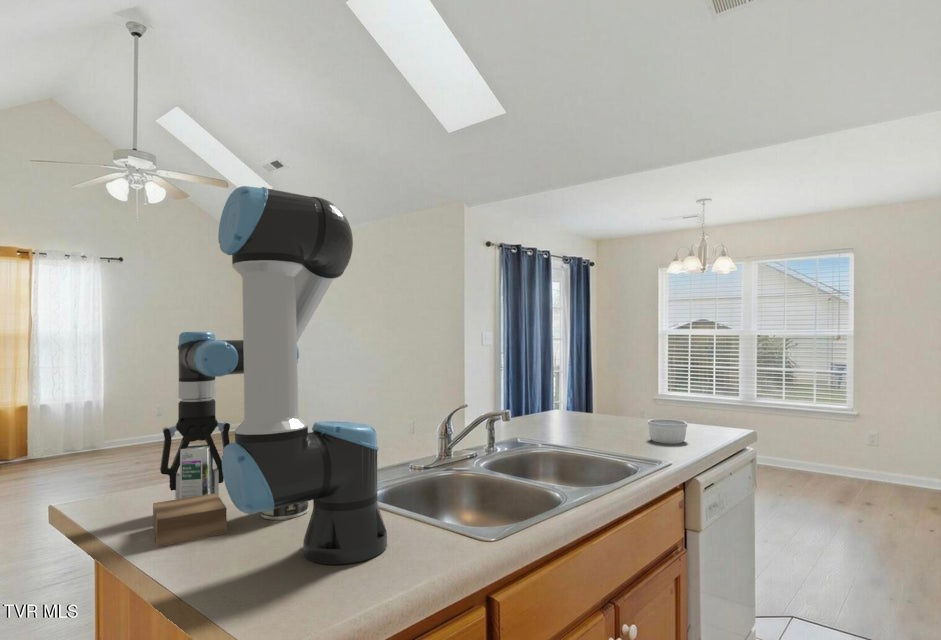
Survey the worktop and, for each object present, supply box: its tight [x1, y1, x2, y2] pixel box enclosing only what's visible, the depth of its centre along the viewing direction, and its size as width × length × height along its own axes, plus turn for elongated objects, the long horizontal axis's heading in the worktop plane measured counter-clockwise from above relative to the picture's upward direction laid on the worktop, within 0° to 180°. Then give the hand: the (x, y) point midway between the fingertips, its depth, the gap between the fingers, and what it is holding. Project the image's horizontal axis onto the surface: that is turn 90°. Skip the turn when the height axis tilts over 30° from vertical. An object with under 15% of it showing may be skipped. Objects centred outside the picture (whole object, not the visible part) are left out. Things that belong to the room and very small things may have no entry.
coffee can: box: [259, 501, 310, 521], centre depth 121 cm, size 10×10×14 cm
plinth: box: [152, 493, 227, 547], centre depth 110 cm, size 12×12×5 cm
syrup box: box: [179, 443, 214, 499], centre depth 123 cm, size 6×6×14 cm
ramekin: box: [647, 418, 688, 445], centre depth 194 cm, size 13×13×7 cm
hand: (197, 500), depth 123 cm, fingers closed on syrup box, 7 cm apart
